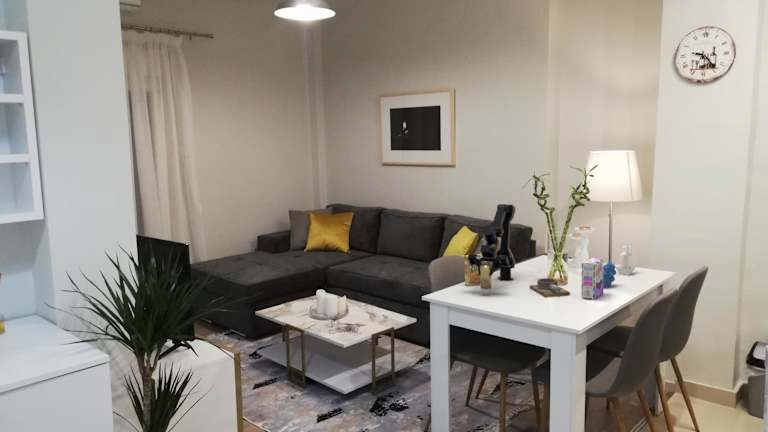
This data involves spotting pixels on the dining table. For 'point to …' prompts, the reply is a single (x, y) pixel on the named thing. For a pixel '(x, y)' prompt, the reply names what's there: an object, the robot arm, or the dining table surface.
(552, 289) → the fitting board
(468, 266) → the candy box
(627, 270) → the figurine
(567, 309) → the dining table surface
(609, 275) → the grapes
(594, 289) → the candy box
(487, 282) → the gold two-tone capped cylinder
